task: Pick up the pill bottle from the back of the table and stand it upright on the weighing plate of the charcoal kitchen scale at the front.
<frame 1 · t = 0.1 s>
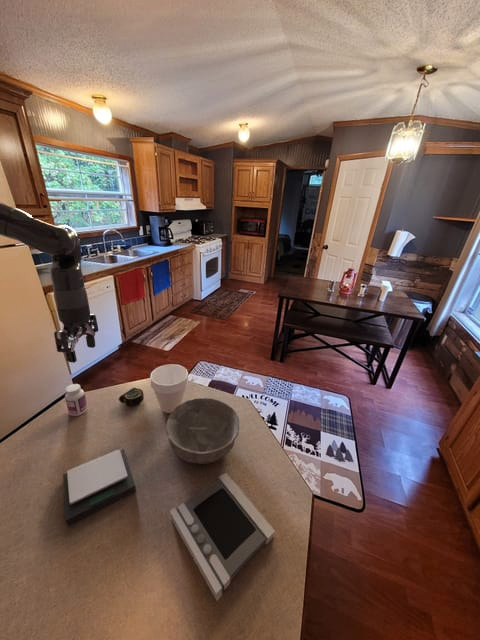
hand: (82, 354, 75), 23 cm above the kitchen counter, tool pointing down, fingers open, 8 cm apart
bowl: (203, 447, 75), on the kitchen counter
pill bottle: (78, 411, 85), on the kitchen counter
cup: (170, 406, 90), on the kitchen counter
scale: (100, 486, 63), on the kitchen counter
alarm clock: (222, 528, 57), on the kitchen counter
tape measure: (131, 401, 90), on the kitchen counter
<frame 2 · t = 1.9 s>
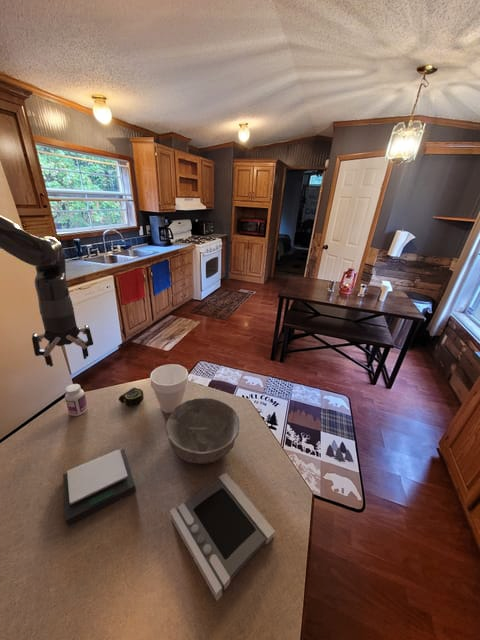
hand: (68, 361, 77), 20 cm above the kitchen counter, tool pointing down, fingers open, 8 cm apart
nothing on the kitchen counter moved.
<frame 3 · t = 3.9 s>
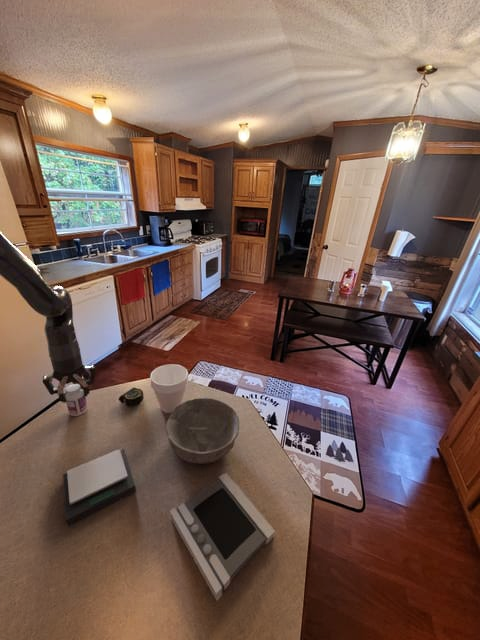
hand: (75, 397, 82), 5 cm above the kitchen counter, tool pointing down, fingers closed on pill bottle, 5 cm apart
pill bottle: (78, 411, 85), on the kitchen counter, touching gripper
everything else where it was.
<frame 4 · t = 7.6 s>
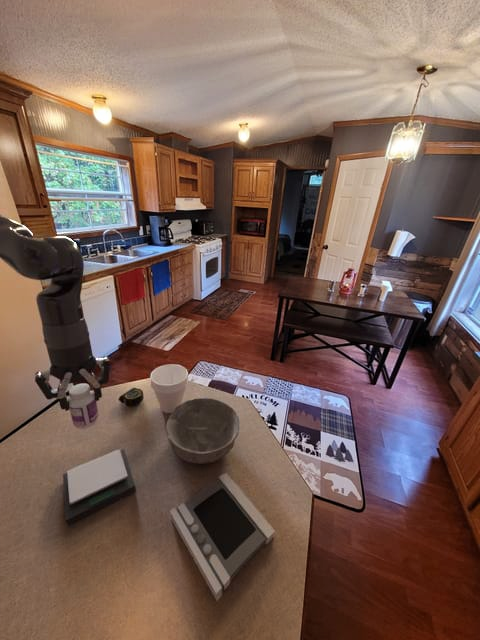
hand: (82, 403, 58), 22 cm above the kitchen counter, tool pointing down, fingers closed on pill bottle, 5 cm apart
pill bottle: (86, 421, 61), point 16 cm above the kitchen counter, touching gripper
everything else where it was.
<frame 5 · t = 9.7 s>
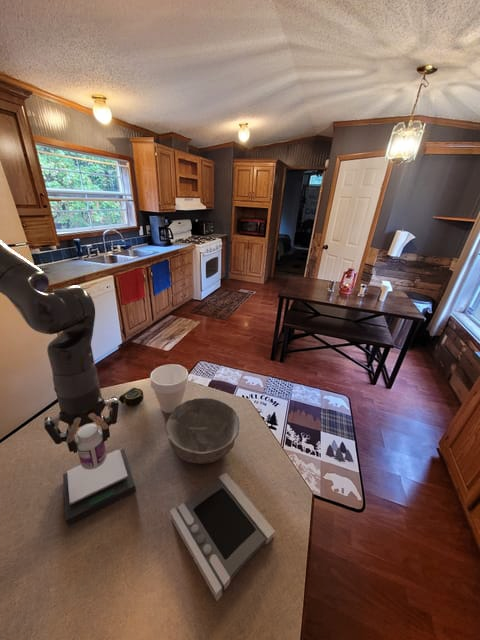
hand: (90, 443, 58), 14 cm above the kitchen counter, tool pointing down, fingers closed on pill bottle, 5 cm apart
pill bottle: (94, 460, 60), point 8 cm above the kitchen counter, touching gripper
everything else where it was.
when the fingers open (9 cm above the kitchen counter, at t = 11.4 s): pill bottle stays where it is, resting on scale.
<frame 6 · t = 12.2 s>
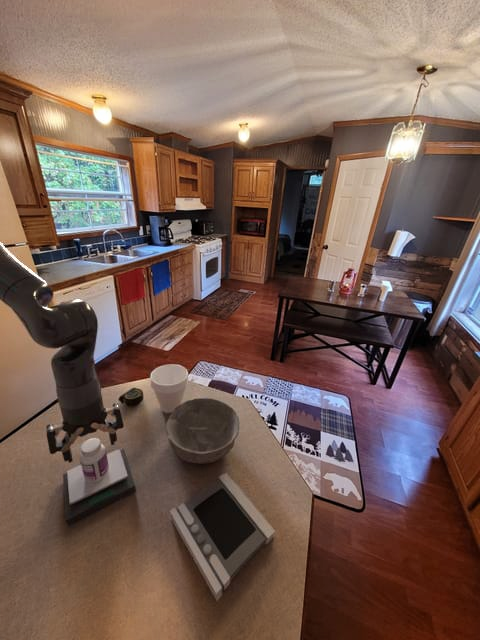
hand: (92, 450, 59), 11 cm above the kitchen counter, tool pointing down, fingers open, 8 cm apart
pill bottle: (97, 473, 62), point 3 cm above the kitchen counter, touching scale
everything else where it was.
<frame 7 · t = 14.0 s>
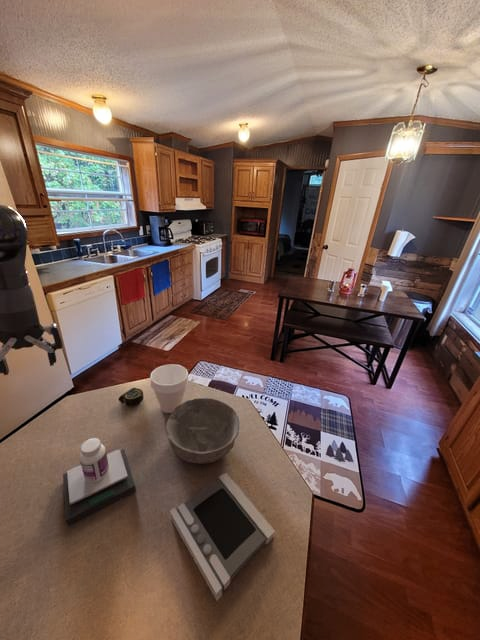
hand: (30, 368, 61), 27 cm above the kitchen counter, tool pointing down, fingers open, 8 cm apart
nothing on the kitchen counter moved.
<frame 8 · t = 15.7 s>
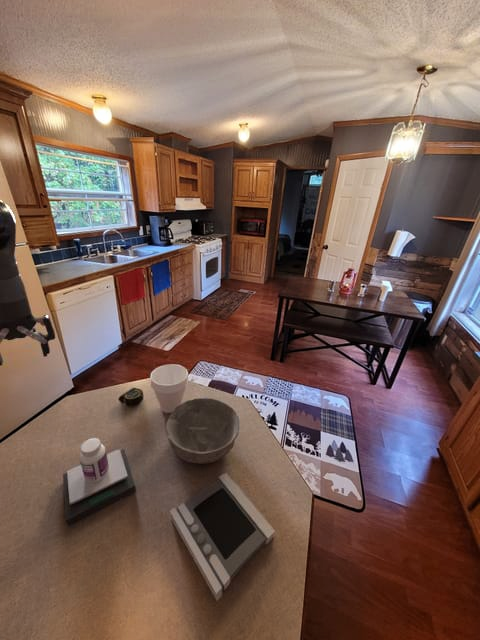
hand: (23, 359, 62), 28 cm above the kitchen counter, tool pointing down, fingers open, 8 cm apart
nothing on the kitchen counter moved.
at the end: pill bottle inside the target area on the scale (0.1 cm from its centre), point 3.4 cm above the scale's base; pill bottle tilted 0°; the gripper is holding nothing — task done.
